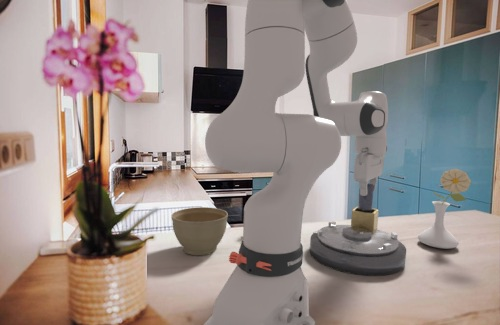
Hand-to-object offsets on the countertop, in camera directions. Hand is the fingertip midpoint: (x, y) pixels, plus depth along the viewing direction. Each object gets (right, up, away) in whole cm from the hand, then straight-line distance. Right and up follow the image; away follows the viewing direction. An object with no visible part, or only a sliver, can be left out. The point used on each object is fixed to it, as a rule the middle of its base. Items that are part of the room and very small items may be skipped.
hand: (367, 193), depth 100 cm
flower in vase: (+25, -17, +5) cm, 31 cm away
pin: (-1, -11, +2) cm, 11 cm away
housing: (-5, -18, -4) cm, 19 cm away
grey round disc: (-5, -13, -5) cm, 15 cm away
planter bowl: (-50, -17, -3) cm, 53 cm away
